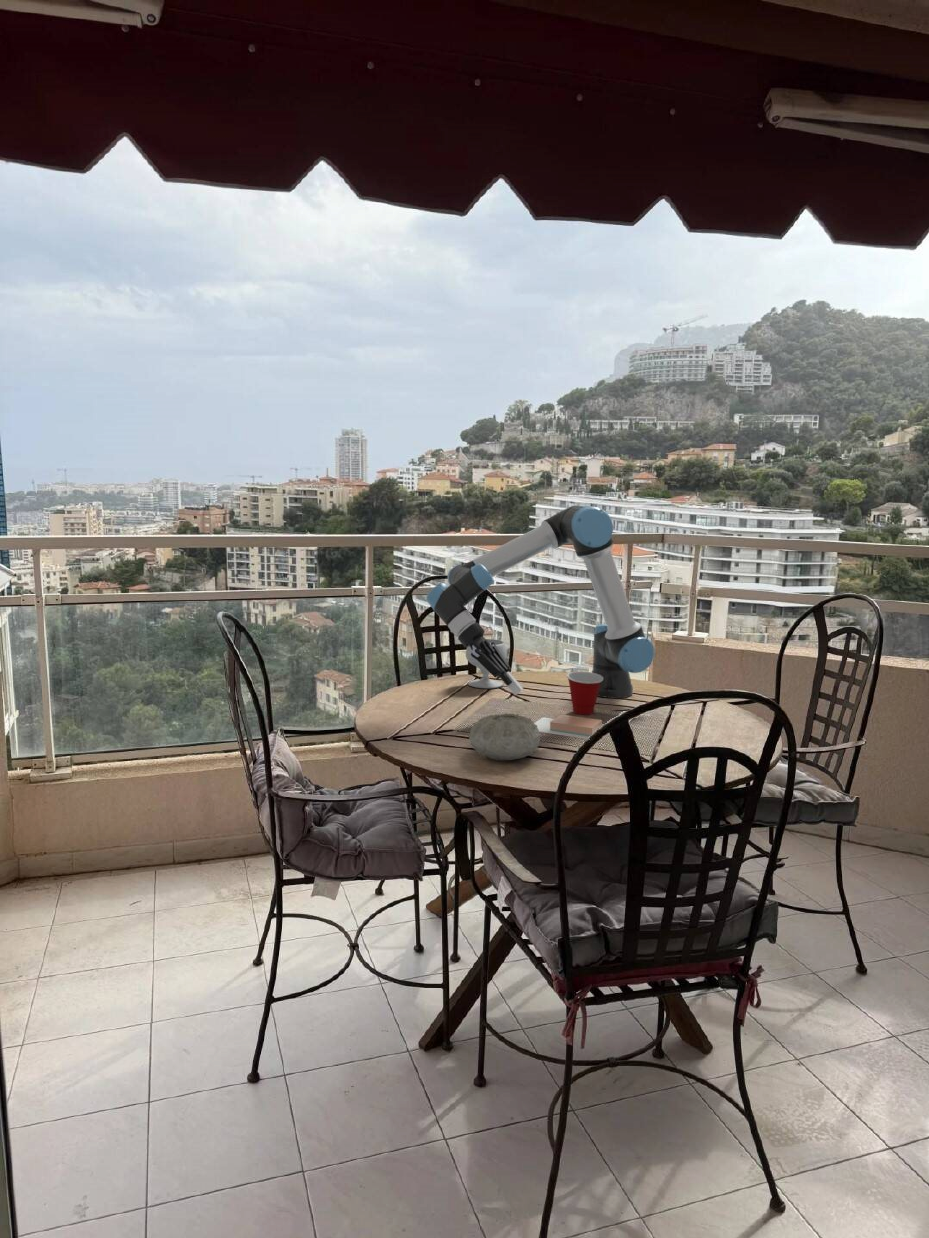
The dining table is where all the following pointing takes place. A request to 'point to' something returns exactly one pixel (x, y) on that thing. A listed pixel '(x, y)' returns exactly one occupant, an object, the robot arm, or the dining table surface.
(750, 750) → the dining table surface
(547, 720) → the mat
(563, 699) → the dining table surface
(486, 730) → the grey rounded stone
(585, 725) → the tan flat block
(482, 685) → the chalice
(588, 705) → the plastic cup
